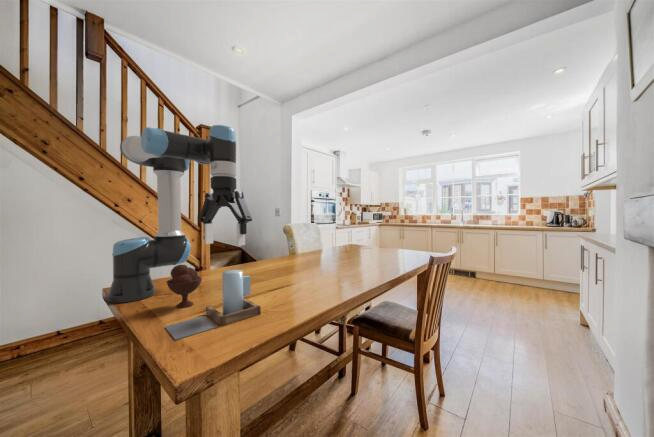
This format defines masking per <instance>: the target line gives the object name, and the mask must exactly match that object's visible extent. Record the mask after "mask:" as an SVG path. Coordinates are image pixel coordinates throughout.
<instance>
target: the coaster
mask: <svg viewBox="0 0 654 437" xmlns="http://www.w3.org/2000/svg"><path fill="white" fill-rule="evenodd" d="M216 328H219V326H218V325H217V324H216V323H215V322H213V321H212V320H211V319H209V318H208V317H207V315H206V316H205V315H201V316H197V317H195V318H191V319H187V320H184V321H183V320H182V321H179V322H176V323H172V324H167V325H165V326H164V329H166V331H167V332H168V333H169V334H170V336H171V337H172V338H173V339H174V341H179V340H181V339H184V338H188V337H190V336H191V337H192V336H195V335H197V334H198V335H199V334H200V333H203V332H208V331H211V330H213V329H216Z"/></svg>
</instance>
